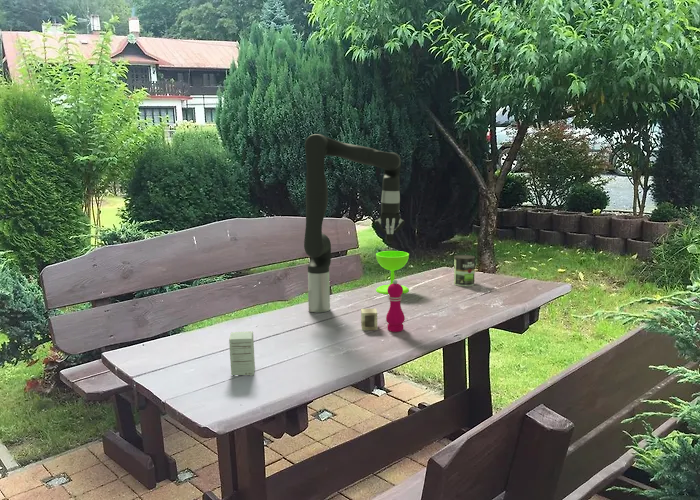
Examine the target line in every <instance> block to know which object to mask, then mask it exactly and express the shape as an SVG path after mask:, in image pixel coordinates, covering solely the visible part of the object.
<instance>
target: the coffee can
mask: <svg viewBox="0 0 700 500" xmlns="http://www.w3.org/2000/svg"><path fill="white" fill-rule="evenodd" d="M453 258H454V263H453V267H454V268H453V270H454V271H453V285H455V286H458V287H473V286H475V270H476V269H475V268H476V267H475V266H476V256H475V255H472V254H456V255H454V257H453Z"/></svg>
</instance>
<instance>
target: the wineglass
mask: <svg viewBox="0 0 700 500" xmlns="http://www.w3.org/2000/svg"><path fill="white" fill-rule="evenodd" d="M375 258H376V261H377V264H379V265H380V267H382V269H385V270H387V271H390V282H389V283H388V284H383V285H380V286H378V287H377V288H376V289H375V291H376V292H377V293H378V294H381V295H382V294H383V295H388V291H387V289H388V287H389V285H391V284H393V280H395V271H398V270H401V269H402V268H404V267H405V266H406V264H407V263H408V261H409V258H410V252H409V253H408V252H406V251H403V250H402V251H400V250H384V251H379V252H376V253H375ZM400 285H401V284H400ZM401 286H402V288H403V293H404V294H407V293H409V291H410V289H409V288H408V287H407V286H405V285H401ZM403 293H402V294H401V295H404V294H403Z"/></svg>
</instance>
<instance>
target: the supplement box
mask: <svg viewBox="0 0 700 500" xmlns="http://www.w3.org/2000/svg"><path fill="white" fill-rule="evenodd" d="M254 341H255V340H254V332H253V331H252V330H251V331H231V333H230V336H229V340H228V344H229V358H230V376H231V375H250V376H254V375H255V369H256V365H255V364H256V362H255V346H254Z"/></svg>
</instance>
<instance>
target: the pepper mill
mask: <svg viewBox="0 0 700 500" xmlns="http://www.w3.org/2000/svg"><path fill="white" fill-rule="evenodd" d="M388 285H389V284H388ZM402 286H403V285H402ZM402 286H401V284H400V283H398V280H397V279H394V280H393V284H391V285H389V287H388V289H387V291H388V294H389V295H388V294H387V295H388V300H389V304H390V305H389V308H388V311H387V314H386V317H385V318H386V320H385V321H386V322H387V323H388V324H387V326H386V328H387V331H388V332H392V333H399V332H403V331H404V324H403V323H405V321H406V318H405V314H404V311H403V309H402V306H401V301H402V297H403V296H402V295H403V294H402V293H403V288H402Z"/></svg>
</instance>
